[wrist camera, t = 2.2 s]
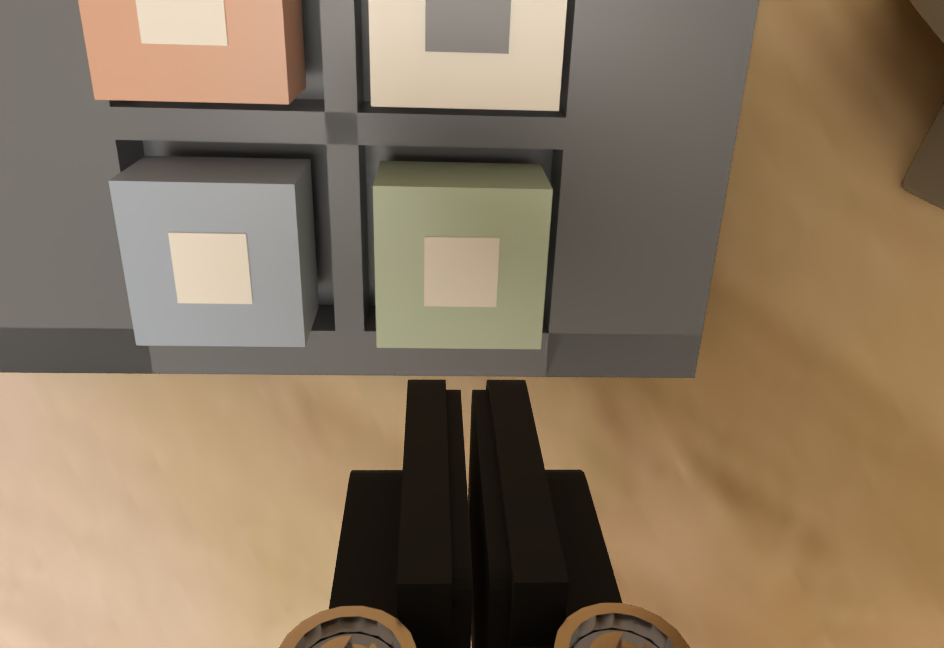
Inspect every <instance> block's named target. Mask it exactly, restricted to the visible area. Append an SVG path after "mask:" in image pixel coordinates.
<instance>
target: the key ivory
mask: <svg viewBox="0 0 944 648" xmlns="http://www.w3.org/2000/svg"><path fill="white" fill-rule="evenodd" d="M368 4H369V46H370V88H371V106H373V107H414V108H455V109H496V110H536V111H559V103H560V90H561V76H562V63H563V50H564V37H565V24H566V10H567V0H368Z"/></svg>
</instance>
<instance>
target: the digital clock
mask: <svg viewBox="0 0 944 648" xmlns="http://www.w3.org/2000/svg"><path fill="white" fill-rule="evenodd" d="M910 2H911V3H912V5H913V6H914V7H915V9H916V10H917V12H918V13H919V14H920V15H921V17H922V18H923V19H924V20H925V21H926V23H927V24H928V25H929V26H930V28H931V29H932V30H933V31H934V32H935V34H936V35H937V36H938V37H939V39H940V40H941V41H942V42H943V43H944V0H910ZM903 188H904V189H905V190H906V191H908V192H910V193H912V194H914V195H916V196H918V197H920V198H922V199H924V200H926V201H928V202H930V203H932V204H934V205H936V206H938V207H940V208H942V209H944V104H943V106H942V108H941V109H940V111H939V113H938V115H937V117H936V119H935V120H934V122H933V124H932V126H931V128H930V130H929V132H928V133H927V135H926V137H925V139H924V141H923V143H922V145H921V146H920V148H919V150H918V152H917V154H916V156H915V158H914V159H913V161H912V163H911V165H910V167H909V169H908V170H907V172H906V175H905V177H904V180H903Z"/></svg>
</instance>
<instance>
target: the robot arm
mask: <svg viewBox="0 0 944 648" xmlns="http://www.w3.org/2000/svg"><path fill="white" fill-rule="evenodd" d="M471 642H472V648H690V647H689V645H688V644H687V642H686V641H685V640H684V638H683V637H682V636H681V634H680V633H679V632H678V631H677V629H675V628H674V627H673V626H672V625H670V624H669V623H668V622H666V621H665V620H664V619H663V618H661V617H660V616H658V615H656V614H654V613H652V612H649V611H647V610H645V609H643V608H641V607H636V606H632V605H628V604H623V603H622V600H621V597H620V593H619V590H618V586H617V583H616V579H615V576H614V573H613V569H612V566H611V562H610V559H609V555H608V552H607V548H606V545H605V542H604V538H603V535H602V531H601V528H600V524H599V521H598V517H597V514H596V511H595V507H594V504H593V500H592V497H591V493H590V490H589V487H588V483H587V480H586V477H585V474H584V472H583V471H582V470H545V468H544V463H543V459H542V454H541V450H540V445H539V440H538V436H537V431H536V426H535V422H534V417H533V413H532V408H531V403H530V399H529V394H528V389H527V385H526V381H525V380H487V384H486V390H472V404H471V432H470V460H469V488H468V497H467V481H466V466H465V450H464V435H463V420H462V404H461V390H446V380H408V387H407V405H406V423H405V441H404V459H403V470H352V471H351V473H350V478H349V483H348V490H347V496H346V503H345V509H344V515H343V522H342V528H341V535H340V541H339V547H338V554H337V560H336V567H335V573H334V580H333V586H332V592H331V599H330V605H329V610H325V611H321V612H319V613H317V614H315V615H313V616H311V617H309V618H307V619H306V620H304V621H302V622H301V623H300V624H299V625H298V626H296V627H295V628H294V629H293V630H292V631H291V632H290V633H289V634H288V635H287V636H286V637H285V639H284V641H283V642H282V644H281V646H280V647H279V648H470V647H471Z"/></svg>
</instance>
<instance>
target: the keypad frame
mask: <svg viewBox="0 0 944 648" xmlns="http://www.w3.org/2000/svg"><path fill="white" fill-rule="evenodd" d="M301 3H302V20H303V38H304V55H305V73H306V88H305V89H304V90H303V91H302V92H301V93H300V94H299V95H298V96H297V97H296V98H295V99H294V100H293V101H292V102H291V103H290V104H250V103H209V102H168V101H127V100H95V98H94V92H93V86H92V80H91V75H90V69H89V63H88V57H87V51H86V45H85V39H84V33H83V27H82V21H81V15H80V9H79V3H78V0H0V372H21V373H145V374H270V375H394V376H519V377H643V378H695V372H696V366H697V360H698V355H699V349H700V343H701V337H702V331H703V326H704V320H705V314H706V308H707V302H708V296H709V291H710V285H711V279H712V273H713V267H714V261H715V256H716V250H717V244H718V238H719V232H720V227H721V221H722V215H723V209H724V203H725V197H726V192H727V186H728V180H729V174H730V168H731V162H732V157H733V151H734V145H735V139H736V133H737V128H738V122H739V116H740V110H741V104H742V98H743V93H744V87H745V81H746V75H747V69H748V63H749V58H750V52H751V46H752V40H753V34H754V29H755V23H756V17H757V11H758V5H759V0H567V10H566V24H565V37H564V50H563V63H562V76H561V90H560V103H559V111H536V110H496V109H455V108H414V107H373V106H371V88H370V46H369V4H368V0H301ZM144 156H184V157H232V158H279V159H310V160H311V178H312V195H313V213H314V231H315V248H316V266H317V283H318V301H319V308H318V311H317V314H316V317H315V320H314V323H313V326H312V329H311V332H310V335H309V338H308V340H307V343H306V346H305V347H243V346H140V345H136V341H135V335H134V329H133V324H132V318H131V312H130V306H129V300H128V294H127V288H126V282H125V276H124V270H123V264H122V258H121V252H120V246H119V241H118V235H117V229H116V223H115V217H114V211H113V205H112V199H111V193H110V187H109V180H110V179H112V178H113V177H115V176H116V175H118V174H119V173H121V172H122V171H124V170H125V169H127V168H128V167H130V166H131V165H133V164H134V163H135V162H137V161H138V160H140V159H141V158H143V157H144ZM380 161H421V162H468V163H516V164H541V166H542V168H543V170H544V172H545V174H546V176H547V178H548V180H549V183H550V185H551V187H552V189H553V195H552V208H551V222H550V235H549V248H548V261H547V274H546V288H545V301H544V314H543V327H542V340H541V349H449V348H377V343H376V301H375V258H374V216H373V184H374V180H375V177H376V173H377V170H378V166H379V163H380Z"/></svg>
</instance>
